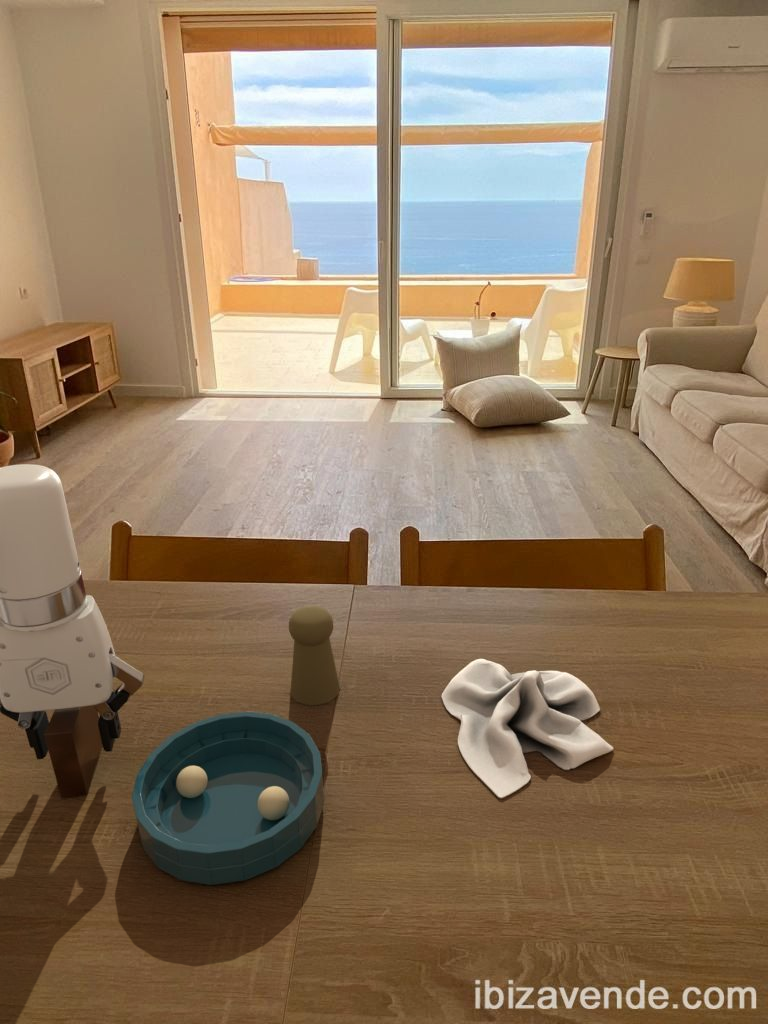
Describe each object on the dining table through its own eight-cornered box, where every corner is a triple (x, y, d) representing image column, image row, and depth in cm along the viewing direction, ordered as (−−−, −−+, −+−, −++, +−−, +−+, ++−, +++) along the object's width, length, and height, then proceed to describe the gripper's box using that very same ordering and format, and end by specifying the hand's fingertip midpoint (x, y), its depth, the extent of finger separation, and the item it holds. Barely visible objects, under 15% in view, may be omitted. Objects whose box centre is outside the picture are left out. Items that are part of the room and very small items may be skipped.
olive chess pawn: (281, 698, 83) (274, 621, 79) (303, 669, 88) (298, 595, 84) (327, 710, 81) (323, 631, 77) (347, 679, 86) (344, 603, 82)
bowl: (124, 902, 59) (115, 865, 57) (155, 754, 75) (148, 721, 73) (330, 873, 62) (328, 837, 60) (317, 735, 77) (315, 703, 76)
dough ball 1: (176, 806, 68) (172, 783, 67) (180, 783, 70) (176, 760, 69) (207, 802, 68) (204, 779, 67) (210, 779, 71) (206, 757, 70)
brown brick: (61, 798, 70) (43, 734, 66) (80, 742, 77) (66, 682, 73) (87, 795, 70) (71, 731, 67) (104, 739, 77) (90, 680, 74)
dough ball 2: (258, 829, 65) (256, 805, 64) (259, 804, 68) (256, 781, 67) (290, 825, 66) (288, 801, 64) (290, 800, 68) (288, 777, 67)
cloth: (441, 661, 90) (442, 620, 87) (588, 666, 88) (593, 626, 86) (440, 795, 69) (441, 748, 67) (630, 806, 68) (639, 757, 65)
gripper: (-76, 627, 60) (-24, 783, 68) (129, 609, 63) (158, 762, 70) (-41, 584, 67) (3, 730, 74) (143, 569, 69) (168, 712, 77)
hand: (78, 744), depth 72 cm, fingers open, 5 cm apart
